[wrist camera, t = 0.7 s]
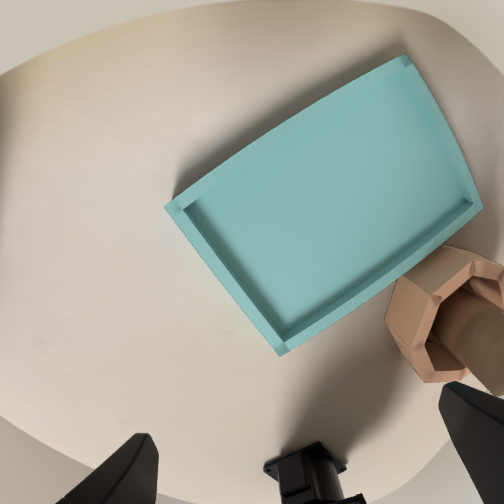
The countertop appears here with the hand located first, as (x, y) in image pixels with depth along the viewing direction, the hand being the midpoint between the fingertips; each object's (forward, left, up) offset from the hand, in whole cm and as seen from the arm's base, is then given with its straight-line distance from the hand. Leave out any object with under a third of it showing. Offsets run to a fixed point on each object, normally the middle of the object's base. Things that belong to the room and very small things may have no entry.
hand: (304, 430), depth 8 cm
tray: (+2, -7, -14) cm, 15 cm away
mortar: (-10, -10, -14) cm, 19 cm away
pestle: (-10, -10, -14) cm, 19 cm away
